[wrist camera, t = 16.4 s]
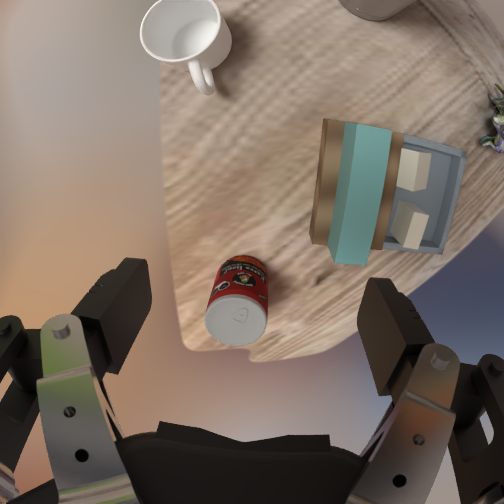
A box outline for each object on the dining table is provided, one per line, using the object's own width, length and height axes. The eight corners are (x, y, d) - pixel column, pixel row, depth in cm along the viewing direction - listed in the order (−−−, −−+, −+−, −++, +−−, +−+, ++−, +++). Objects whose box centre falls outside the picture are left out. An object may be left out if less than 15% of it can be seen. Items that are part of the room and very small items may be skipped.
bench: (323, 118, 35) (328, 119, 31) (394, 131, 34) (404, 134, 31) (309, 233, 42) (312, 243, 39) (374, 239, 42) (381, 250, 38)
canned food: (273, 260, 44) (274, 305, 34) (260, 303, 48) (257, 351, 38) (222, 248, 44) (209, 290, 34) (213, 292, 47) (200, 339, 37)
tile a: (401, 147, 32) (419, 152, 30) (415, 149, 35) (431, 153, 33) (396, 185, 34) (413, 191, 32) (410, 183, 37) (426, 188, 35)
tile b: (414, 211, 34) (429, 215, 34) (399, 200, 38) (413, 203, 38) (402, 247, 36) (417, 249, 36) (390, 232, 40) (404, 234, 40)
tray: (394, 131, 34) (403, 133, 32) (456, 148, 34) (466, 152, 31) (374, 239, 42) (380, 248, 39) (433, 246, 41) (441, 254, 39)
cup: (223, 9, 28) (209, -20, 19) (248, 88, 33) (241, 79, 24) (163, 30, 30) (132, 10, 21) (186, 107, 35) (159, 106, 26)
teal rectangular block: (345, 121, 31) (357, 123, 27) (376, 127, 31) (392, 130, 27) (327, 244, 39) (334, 263, 34) (355, 247, 38) (365, 265, 34)
